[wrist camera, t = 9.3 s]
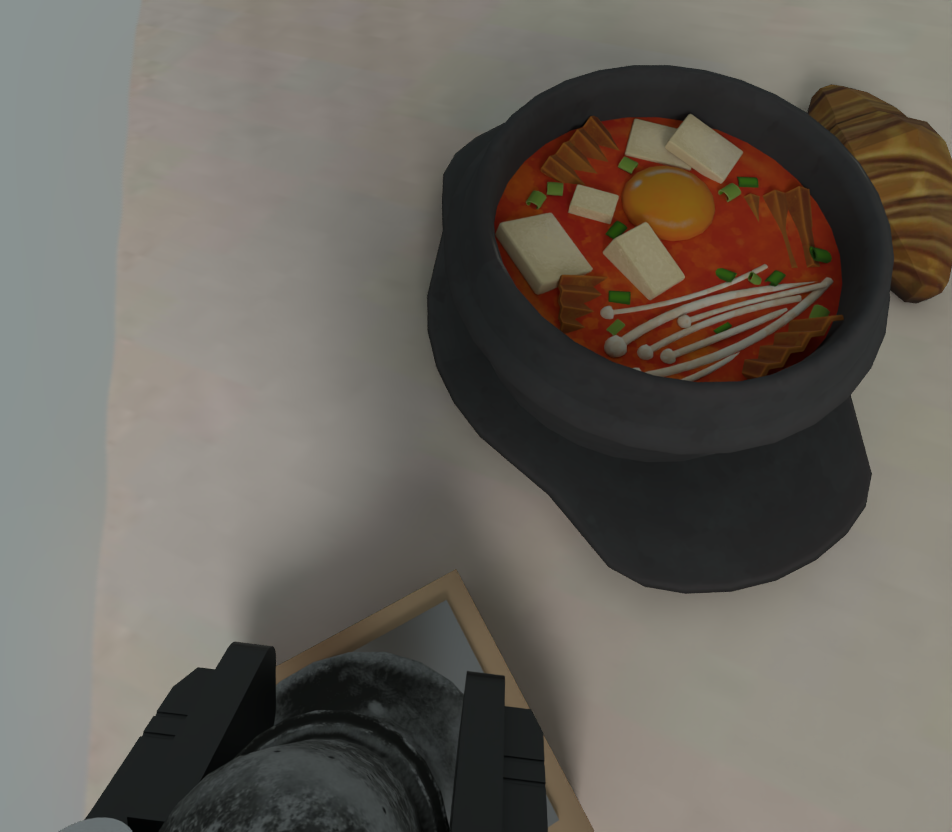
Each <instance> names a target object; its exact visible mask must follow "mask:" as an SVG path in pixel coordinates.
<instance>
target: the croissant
mask: <svg viewBox="0 0 952 832" xmlns="http://www.w3.org/2000/svg"><path fill="white" fill-rule="evenodd" d="M808 114H809V115H810V116H811V117H812V118H814V119H815V120H816V121H817V122H819V123H820V124H821V125H822V126H824V127H825V128H826V129H827V130H828V131H830V132H831V133H832V134H833V135H835V136H836V137H837V138H838V139H839V140H840V142H841V143H842V144H843V145H844V146H845V147H846V148H847V149H848V151H849V152H850V153H851V154H852V155H853V156H854V157H855V158H856V159H857V161H858V162H859V163H860V164H861V166H862V167H863V169H864V171H865V172H866V174H867V175H868V177H869V179H870V180H871V182H872V184H873V185H874V187H875V188H876V190H877V192H878V193H879V196H880V199H881V202H882V204H883V207H884V210H885V212H886V215H887V218H888V221H889V223H890V228H891V236H892V244H893V253H894V264H893V271H892V279H891V286H890V290H891V291H892V292H894V293H895V294H896V295H897V296H898V297H899V298H901V299H902V300H903V301H904V302H910V303H919V302H922V301H924V300H927V299H930V298H932V297H934V296H936V295H938V294H940V293H942V291H943V290H944V288H945V287H946V285H947V283H948V281H949V277H950V272H951V268H952V159H951V156H950V153H949V150H948V147H947V144H946V142H945V141H944V140H943V139H942V137H941V136H940V135H939V134H938V133H937V132H936V131H935V130H934V129H933V128H932V127H931V126H930V125H929V124H928V123H927V122H925V121H921V120H917V119H912V118H908V117H907V116H905V115H904V114H903V113H902V112H901V111H899V110H898V109H897V108H896V107H894V106H892V105H890V104H888V103H886V102H884V101H883V100H881V99H879V98H877V97H875V96H873V95H871V94H869V93H868V92H864V91H860V90H856V89H852V88H848V87H844V86H838V85H829V86H826V87H823V88H820V89H819V90H818V91H817V92H816V94H815V95H814V96H813V97H812V99H811V102H810V105H809V108H808Z"/></svg>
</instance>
